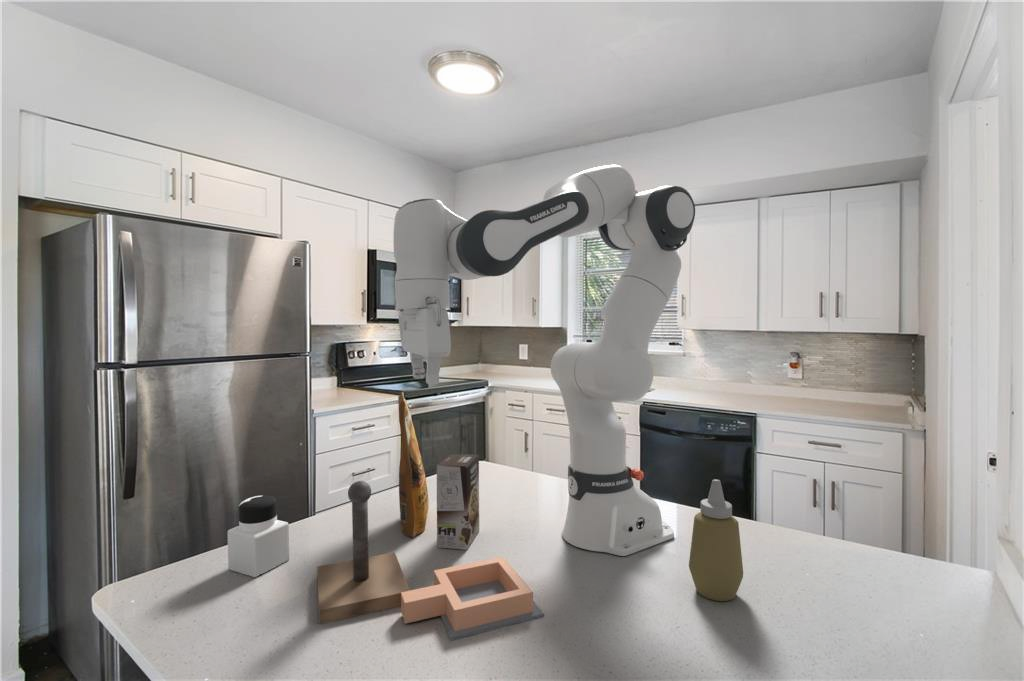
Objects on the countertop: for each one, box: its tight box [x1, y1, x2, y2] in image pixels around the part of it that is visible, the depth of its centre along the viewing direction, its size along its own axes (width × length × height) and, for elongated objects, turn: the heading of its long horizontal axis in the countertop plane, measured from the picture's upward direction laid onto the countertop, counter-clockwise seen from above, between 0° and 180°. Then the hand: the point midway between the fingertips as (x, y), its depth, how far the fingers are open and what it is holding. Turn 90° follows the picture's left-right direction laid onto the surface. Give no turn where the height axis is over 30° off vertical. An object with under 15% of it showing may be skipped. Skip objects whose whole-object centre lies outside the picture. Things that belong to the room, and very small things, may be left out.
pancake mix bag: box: [397, 391, 430, 538], centre depth 107 cm, size 7×19×28 cm, turn 6°
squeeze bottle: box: [688, 479, 744, 602], centre depth 78 cm, size 8×8×18 cm
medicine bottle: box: [226, 495, 290, 578], centre depth 88 cm, size 7×7×12 cm
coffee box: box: [436, 453, 480, 551], centre depth 98 cm, size 9×6×16 cm
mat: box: [440, 580, 545, 641], centre depth 76 cm, size 14×14×1 cm
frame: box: [400, 556, 534, 631], centre depth 75 cm, size 18×12×3 cm, turn 112°
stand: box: [316, 480, 411, 625], centre depth 80 cm, size 13×14×18 cm
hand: (425, 381), depth 83 cm, fingers open, 8 cm apart
